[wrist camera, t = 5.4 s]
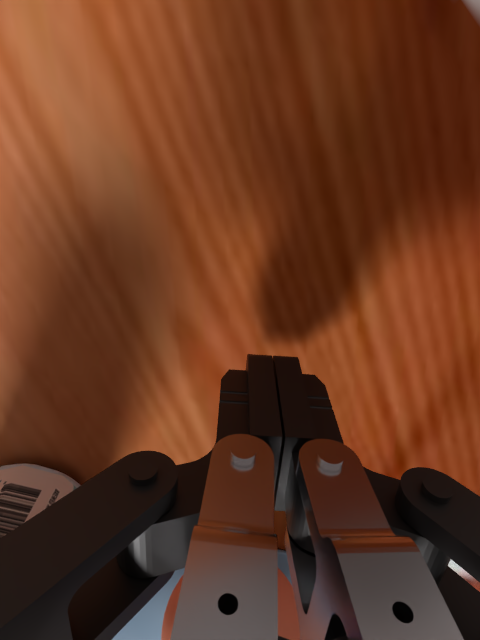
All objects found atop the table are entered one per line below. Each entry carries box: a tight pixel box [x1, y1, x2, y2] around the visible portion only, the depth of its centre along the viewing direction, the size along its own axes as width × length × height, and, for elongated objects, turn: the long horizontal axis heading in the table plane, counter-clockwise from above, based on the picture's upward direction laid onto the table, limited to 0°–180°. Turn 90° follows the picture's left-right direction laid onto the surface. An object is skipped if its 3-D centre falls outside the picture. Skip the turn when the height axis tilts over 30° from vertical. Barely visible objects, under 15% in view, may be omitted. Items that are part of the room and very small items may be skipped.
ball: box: [161, 568, 300, 640], centre depth 16 cm, size 6×6×6 cm
